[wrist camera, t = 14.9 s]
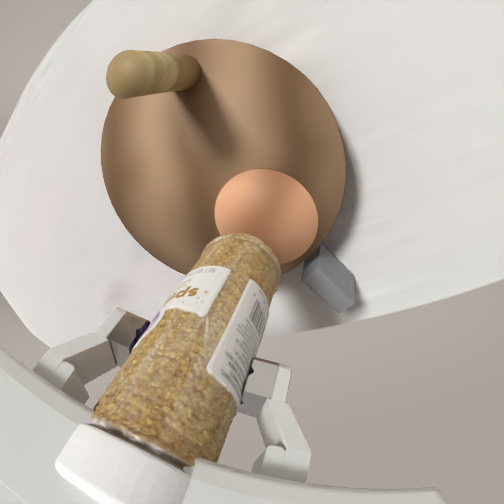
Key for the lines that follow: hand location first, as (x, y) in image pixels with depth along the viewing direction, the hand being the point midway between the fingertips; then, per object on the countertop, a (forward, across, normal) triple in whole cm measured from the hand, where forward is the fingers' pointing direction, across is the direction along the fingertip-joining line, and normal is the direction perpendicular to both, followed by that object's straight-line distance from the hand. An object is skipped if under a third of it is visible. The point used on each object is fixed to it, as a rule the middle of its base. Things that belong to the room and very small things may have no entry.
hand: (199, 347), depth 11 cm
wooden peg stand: (+14, +4, -3) cm, 15 cm away
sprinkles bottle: (+6, 0, 0) cm, 6 cm away
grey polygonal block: (+14, -6, +3) cm, 15 cm away
